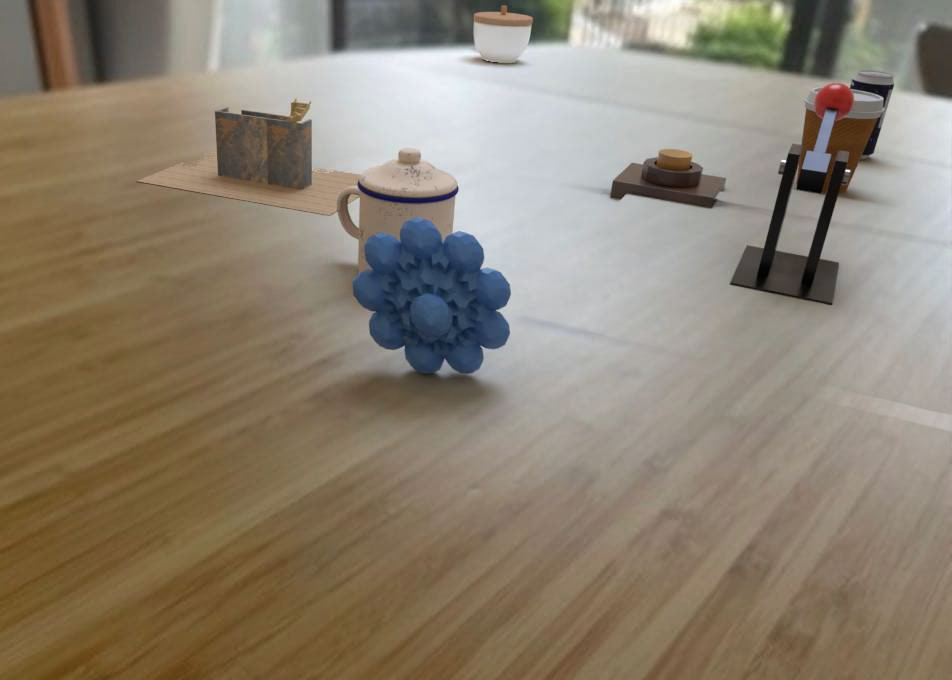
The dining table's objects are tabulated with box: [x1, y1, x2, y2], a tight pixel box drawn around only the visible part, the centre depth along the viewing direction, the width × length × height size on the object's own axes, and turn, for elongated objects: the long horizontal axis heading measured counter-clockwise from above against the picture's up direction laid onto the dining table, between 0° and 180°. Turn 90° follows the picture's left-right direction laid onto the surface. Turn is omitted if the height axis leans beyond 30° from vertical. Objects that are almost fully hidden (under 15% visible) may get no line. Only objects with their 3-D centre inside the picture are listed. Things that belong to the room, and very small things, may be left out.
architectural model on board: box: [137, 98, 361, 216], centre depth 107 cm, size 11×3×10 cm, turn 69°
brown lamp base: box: [609, 156, 727, 209], centre depth 111 cm, size 12×10×4 cm
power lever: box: [795, 82, 854, 195], centre depth 86 cm, size 14×4×4 cm, turn 155°
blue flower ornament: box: [352, 217, 512, 375], centre depth 64 cm, size 12×7×12 cm, turn 86°
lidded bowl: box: [472, 5, 534, 64], centre depth 194 cm, size 13×13×11 cm
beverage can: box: [849, 69, 895, 160], centre depth 134 cm, size 6×6×12 cm
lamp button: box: [656, 148, 693, 170], centre depth 110 cm, size 4×4×2 cm
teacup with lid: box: [336, 147, 460, 273], centre depth 83 cm, size 12×9×12 cm
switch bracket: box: [729, 143, 851, 306], centre depth 85 cm, size 12×9×13 cm
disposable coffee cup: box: [795, 86, 885, 194], centre depth 117 cm, size 10×10×12 cm
